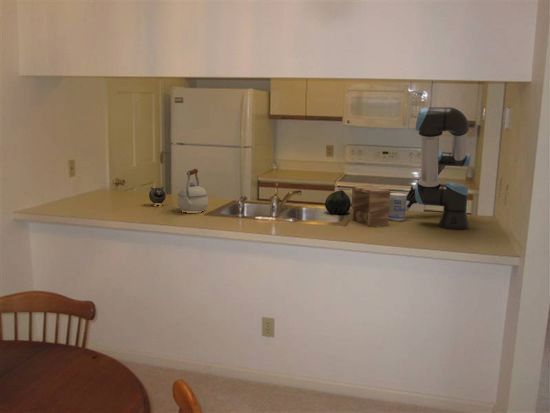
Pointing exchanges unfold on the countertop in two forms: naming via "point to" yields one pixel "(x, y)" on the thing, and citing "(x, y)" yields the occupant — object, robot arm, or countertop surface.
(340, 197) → the squash
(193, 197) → the kettle
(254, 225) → the countertop surface
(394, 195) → the supplement tub
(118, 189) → the countertop surface
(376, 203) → the wooden cube
